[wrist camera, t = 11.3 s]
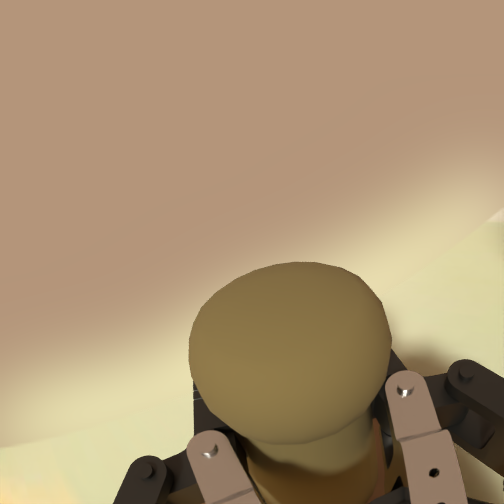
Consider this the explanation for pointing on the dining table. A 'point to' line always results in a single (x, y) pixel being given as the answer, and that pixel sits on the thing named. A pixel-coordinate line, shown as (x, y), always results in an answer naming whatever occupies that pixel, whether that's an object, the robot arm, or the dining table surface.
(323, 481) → the olive pepper mill
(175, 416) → the dining table surface
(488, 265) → the dining table surface
